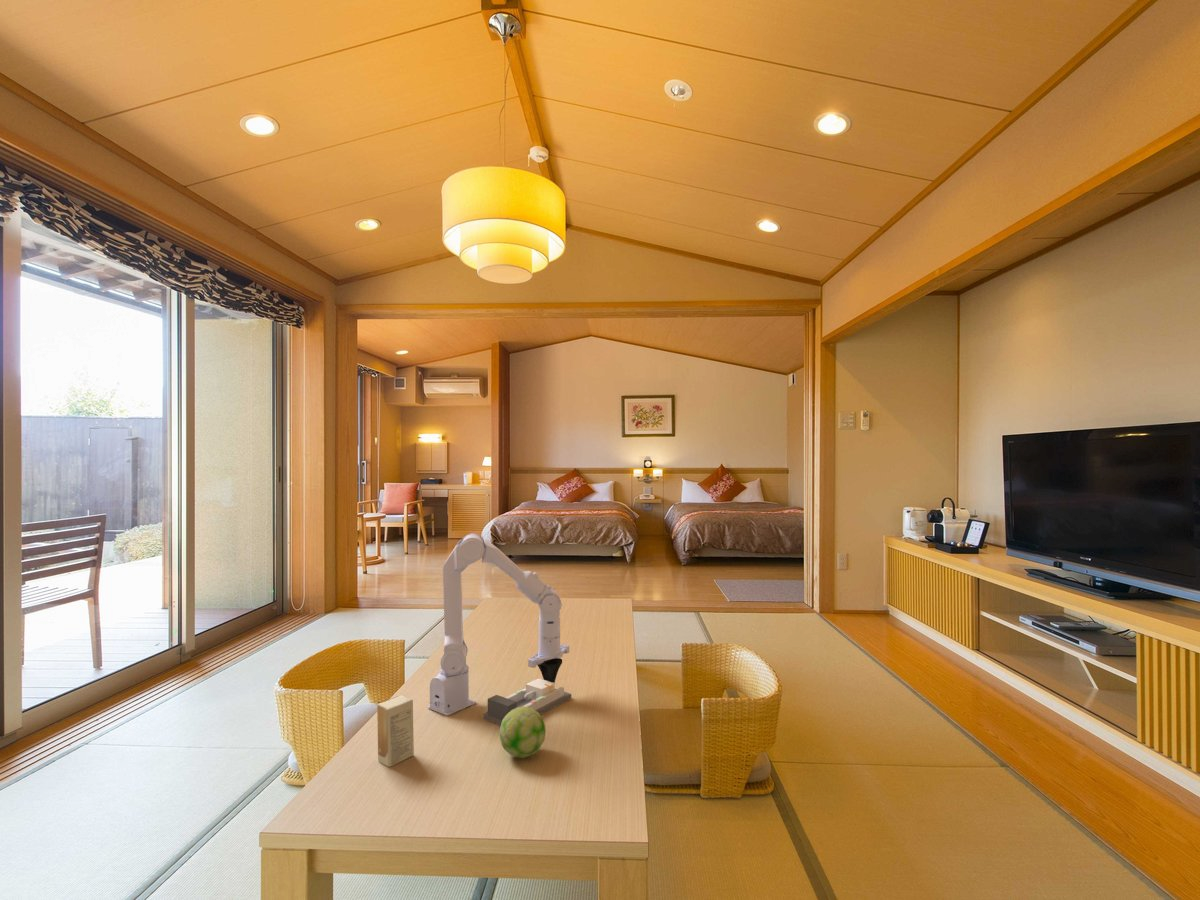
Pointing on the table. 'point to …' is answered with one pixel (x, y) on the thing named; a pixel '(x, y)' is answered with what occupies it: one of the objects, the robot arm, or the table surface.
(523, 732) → the decorative ball
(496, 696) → the gauge base
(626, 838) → the table surface
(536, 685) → the gauge carriage
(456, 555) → the robot arm
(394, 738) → the skincare box
